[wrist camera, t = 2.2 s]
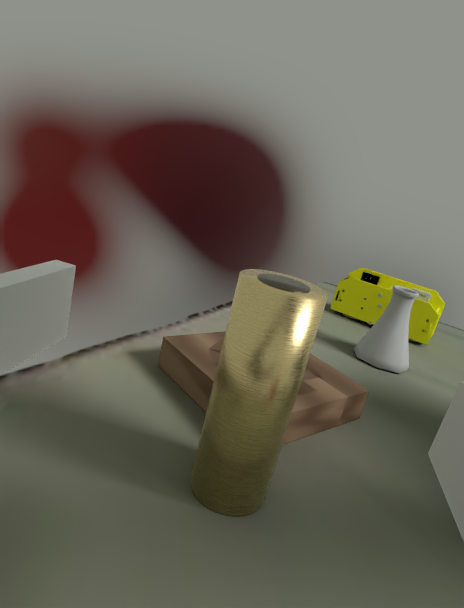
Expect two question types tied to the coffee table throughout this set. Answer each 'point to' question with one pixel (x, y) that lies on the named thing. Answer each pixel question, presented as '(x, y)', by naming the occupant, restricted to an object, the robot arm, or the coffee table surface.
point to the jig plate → (310, 399)
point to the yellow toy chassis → (386, 302)
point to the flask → (389, 334)
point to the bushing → (255, 389)
